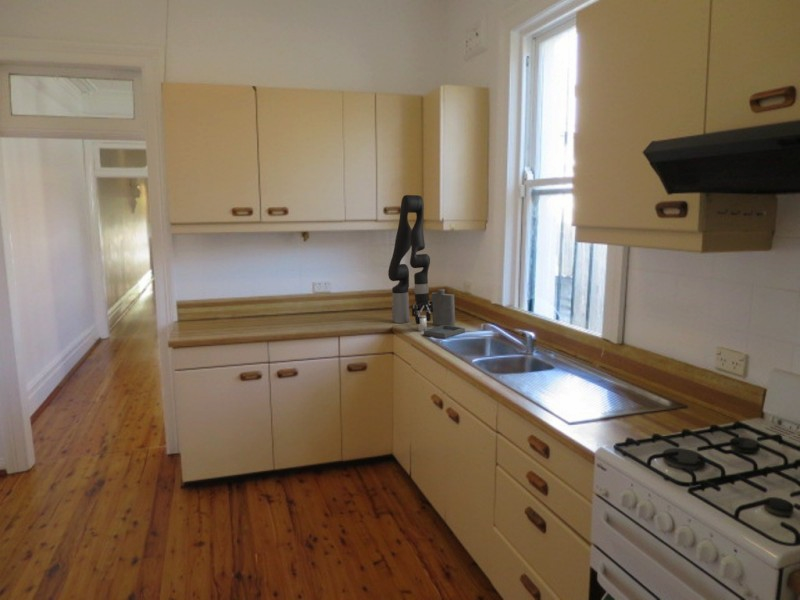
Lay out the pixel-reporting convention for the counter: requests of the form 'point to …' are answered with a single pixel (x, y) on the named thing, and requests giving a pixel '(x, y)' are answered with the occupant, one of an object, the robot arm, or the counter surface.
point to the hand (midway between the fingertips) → (423, 322)
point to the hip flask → (443, 308)
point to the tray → (444, 331)
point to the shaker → (422, 323)
